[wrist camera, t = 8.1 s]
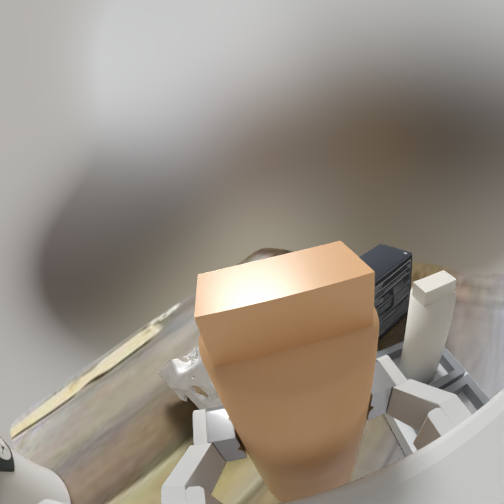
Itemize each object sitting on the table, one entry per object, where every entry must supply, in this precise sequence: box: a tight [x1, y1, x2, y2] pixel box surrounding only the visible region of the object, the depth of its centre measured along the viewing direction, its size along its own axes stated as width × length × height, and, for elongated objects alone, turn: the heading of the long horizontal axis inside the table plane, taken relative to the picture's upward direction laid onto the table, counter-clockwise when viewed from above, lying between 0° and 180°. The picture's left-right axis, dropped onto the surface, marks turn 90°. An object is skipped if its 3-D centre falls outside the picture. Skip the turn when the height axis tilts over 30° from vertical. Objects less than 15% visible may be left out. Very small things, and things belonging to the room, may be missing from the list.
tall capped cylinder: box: [194, 241, 379, 503], centre depth 9 cm, size 5×5×12 cm
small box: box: [359, 244, 412, 340], centre depth 37 cm, size 11×6×10 cm, turn 121°
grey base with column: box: [376, 270, 490, 457], centre depth 20 cm, size 18×11×14 cm, turn 7°
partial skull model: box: [158, 344, 223, 410], centre depth 32 cm, size 12×9×10 cm
